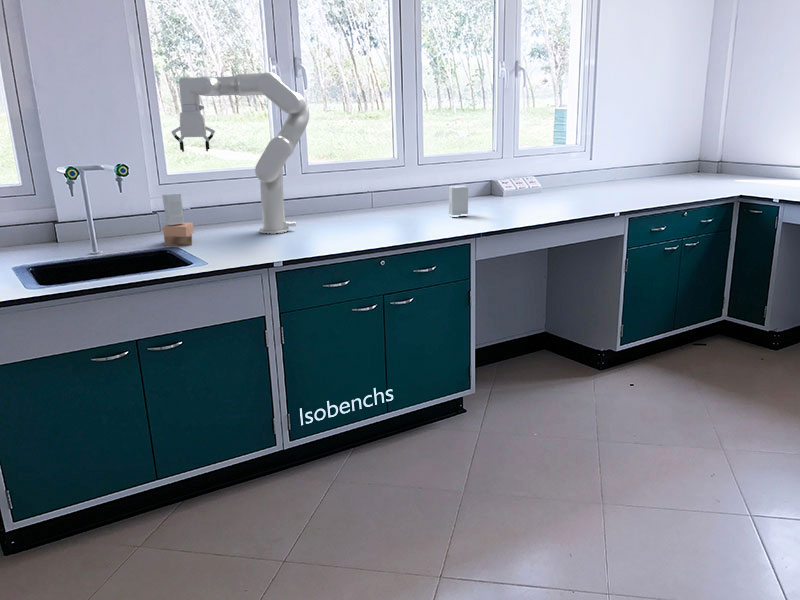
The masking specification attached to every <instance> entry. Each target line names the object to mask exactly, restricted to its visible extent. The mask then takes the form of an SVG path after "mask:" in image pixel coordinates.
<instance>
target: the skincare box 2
mask: <svg viewBox="0 0 800 600" xmlns="http://www.w3.org/2000/svg"><path fill="white" fill-rule="evenodd" d="M449 214H451V215H461V214H468V215H469V187H468V186H466V185H464V184H462V185H450V186H448V215H449Z"/></svg>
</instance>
